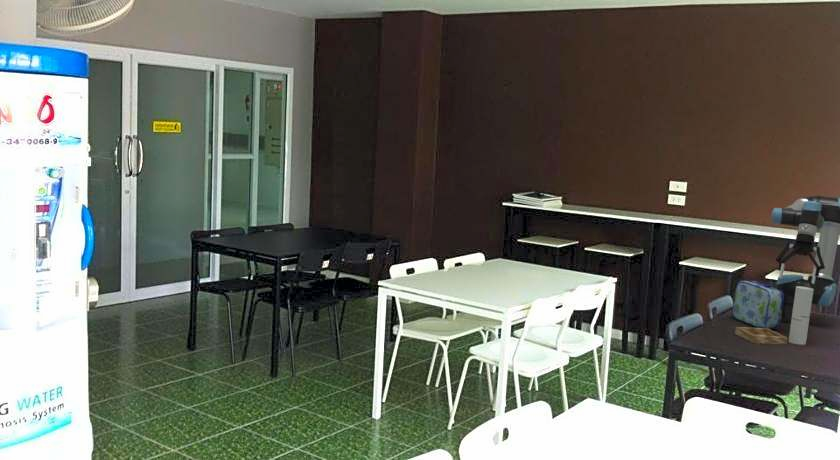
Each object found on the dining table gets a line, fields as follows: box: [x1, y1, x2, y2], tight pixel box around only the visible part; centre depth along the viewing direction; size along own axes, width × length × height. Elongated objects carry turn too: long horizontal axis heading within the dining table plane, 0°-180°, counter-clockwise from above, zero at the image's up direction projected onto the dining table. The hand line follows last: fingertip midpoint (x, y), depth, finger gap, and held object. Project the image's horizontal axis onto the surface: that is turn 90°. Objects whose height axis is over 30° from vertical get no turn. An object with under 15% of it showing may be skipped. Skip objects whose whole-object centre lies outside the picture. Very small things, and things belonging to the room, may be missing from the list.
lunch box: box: [732, 280, 784, 330], centre depth 397 cm, size 26×11×21 cm, turn 16°
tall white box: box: [788, 286, 814, 346], centre depth 365 cm, size 7×7×25 cm
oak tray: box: [734, 326, 788, 346], centre depth 368 cm, size 16×16×3 cm
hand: (796, 280), depth 365 cm, fingers open, 13 cm apart
